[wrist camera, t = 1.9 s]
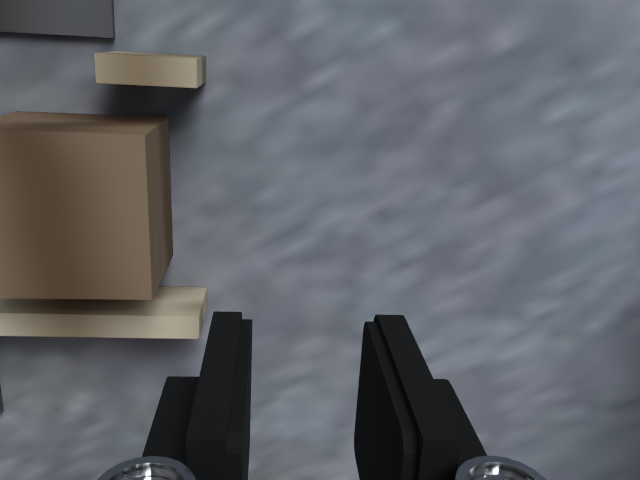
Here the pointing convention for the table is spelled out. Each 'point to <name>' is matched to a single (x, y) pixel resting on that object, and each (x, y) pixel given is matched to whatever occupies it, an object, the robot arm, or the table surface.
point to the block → (84, 205)
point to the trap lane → (111, 68)
